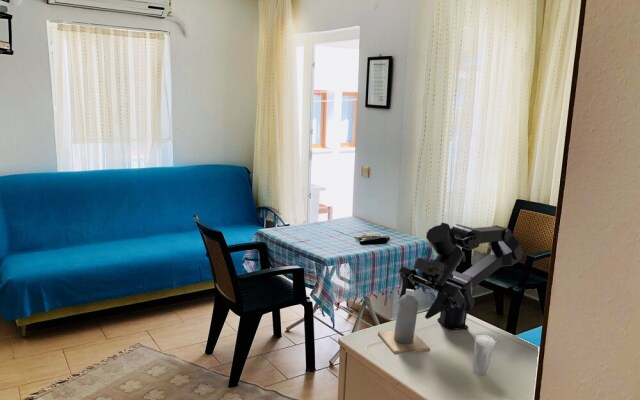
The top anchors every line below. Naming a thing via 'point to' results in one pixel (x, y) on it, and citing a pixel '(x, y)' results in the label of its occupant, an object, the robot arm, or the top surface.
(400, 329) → the grey bottle
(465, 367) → the top surface
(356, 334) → the top surface
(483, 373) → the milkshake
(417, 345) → the cork mat
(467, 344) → the top surface
